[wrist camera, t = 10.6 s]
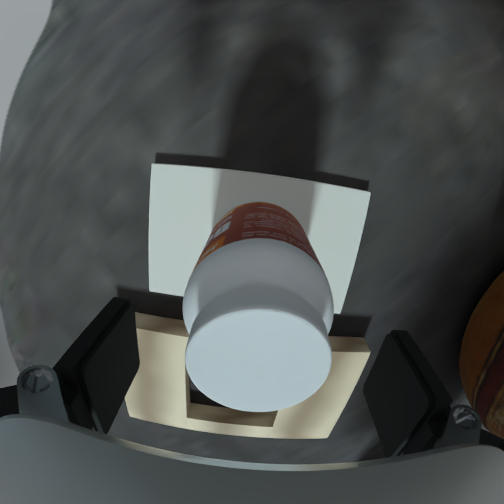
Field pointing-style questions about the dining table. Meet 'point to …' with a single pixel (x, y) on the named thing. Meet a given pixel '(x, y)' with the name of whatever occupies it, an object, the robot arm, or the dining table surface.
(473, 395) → the ceramic pitcher
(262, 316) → the pill bottle
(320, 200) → the mat
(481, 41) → the dining table surface
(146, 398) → the wooden rectangular frame
